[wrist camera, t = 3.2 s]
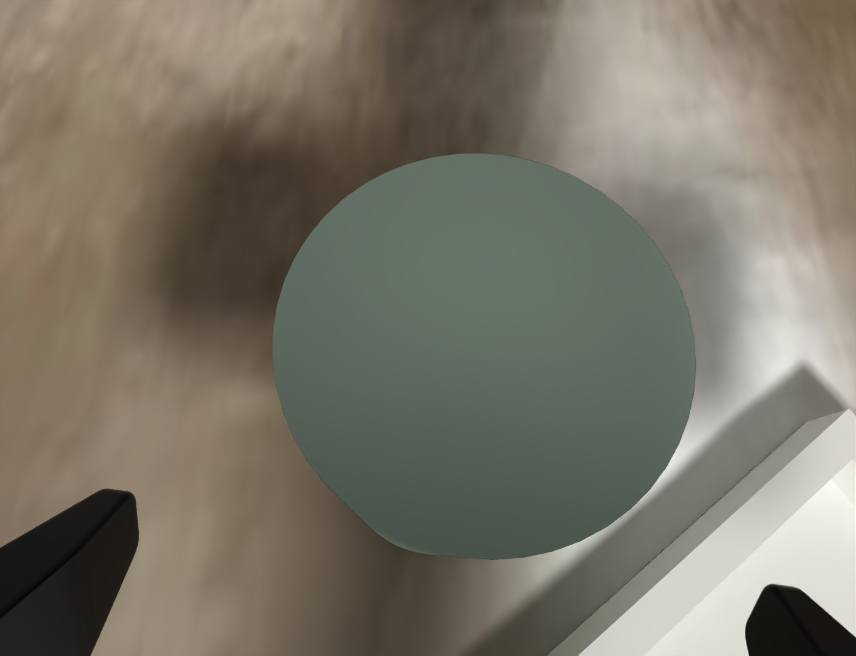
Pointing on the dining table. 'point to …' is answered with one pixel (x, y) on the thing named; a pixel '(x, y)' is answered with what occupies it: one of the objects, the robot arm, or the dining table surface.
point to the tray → (744, 556)
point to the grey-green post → (483, 357)
